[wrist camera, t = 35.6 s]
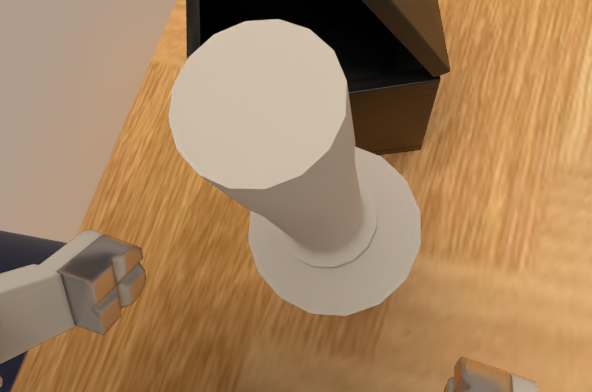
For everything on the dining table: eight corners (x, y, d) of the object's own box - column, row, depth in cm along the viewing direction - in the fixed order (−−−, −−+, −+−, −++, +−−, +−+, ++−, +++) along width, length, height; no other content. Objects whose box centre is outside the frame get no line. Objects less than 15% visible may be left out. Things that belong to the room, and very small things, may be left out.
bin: (243, 172, 32) (187, 118, 22) (237, 43, 34) (185, -53, 25) (421, 149, 30) (440, 80, 20) (400, 15, 32) (409, -101, 23)
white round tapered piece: (369, 213, 29) (332, -166, 5) (413, 281, 28) (628, 163, 4) (303, 254, 30) (-9, 55, 6) (344, 323, 28) (152, 452, 4)
